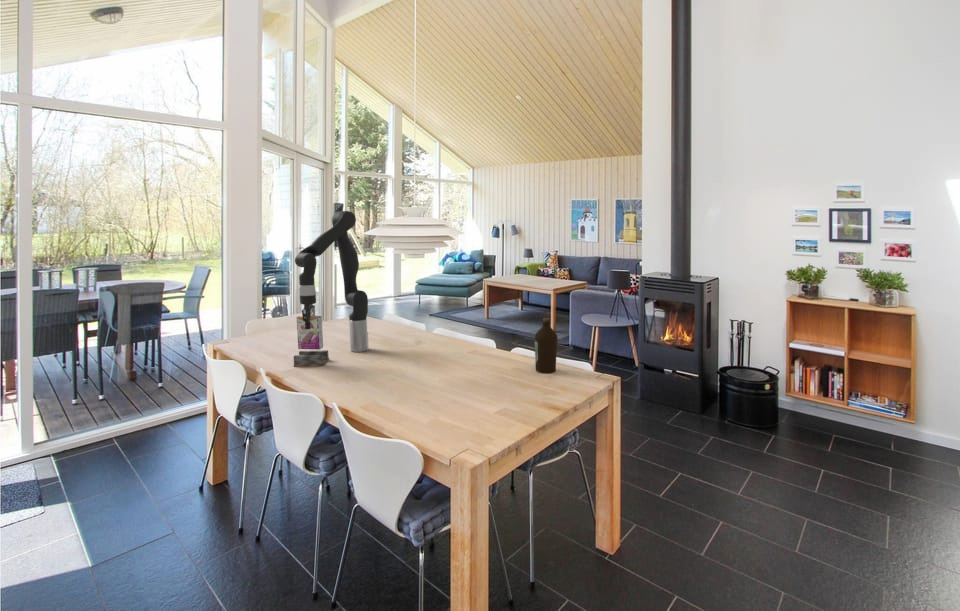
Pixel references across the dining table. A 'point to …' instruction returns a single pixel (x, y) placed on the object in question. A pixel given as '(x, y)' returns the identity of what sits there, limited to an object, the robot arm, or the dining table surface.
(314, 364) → the rail holder
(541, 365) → the olive oil
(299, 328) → the candy bar box
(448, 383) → the dining table surface
